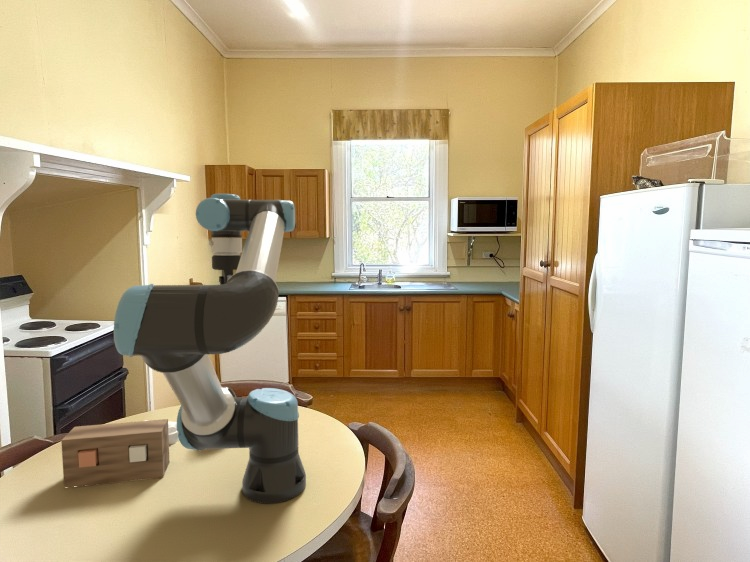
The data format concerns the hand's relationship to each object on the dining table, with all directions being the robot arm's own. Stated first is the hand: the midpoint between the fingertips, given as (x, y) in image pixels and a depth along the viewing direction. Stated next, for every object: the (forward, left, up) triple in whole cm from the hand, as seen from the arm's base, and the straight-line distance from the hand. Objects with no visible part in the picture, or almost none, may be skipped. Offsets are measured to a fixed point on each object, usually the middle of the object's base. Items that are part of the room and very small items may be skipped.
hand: (228, 342), depth 120 cm
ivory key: (0, +22, -27) cm, 35 cm away
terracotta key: (+2, +33, -27) cm, 43 cm away
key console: (+3, +27, -32) cm, 42 cm away
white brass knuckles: (+24, +20, -33) cm, 46 cm away
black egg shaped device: (+17, 0, -33) cm, 37 cm away
